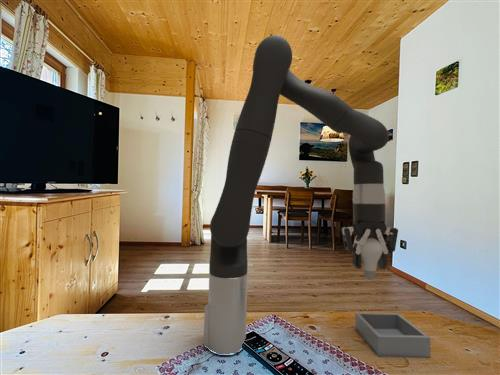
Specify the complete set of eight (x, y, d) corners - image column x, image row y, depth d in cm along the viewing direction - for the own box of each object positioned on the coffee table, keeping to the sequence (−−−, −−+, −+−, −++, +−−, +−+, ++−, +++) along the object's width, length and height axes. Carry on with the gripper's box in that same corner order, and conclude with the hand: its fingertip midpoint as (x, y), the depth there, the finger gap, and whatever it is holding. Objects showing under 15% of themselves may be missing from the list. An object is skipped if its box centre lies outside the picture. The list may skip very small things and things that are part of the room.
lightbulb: (377, 276, 67) (376, 234, 67) (387, 284, 60) (386, 238, 61) (353, 275, 67) (352, 234, 68) (361, 283, 61) (360, 238, 61)
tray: (378, 356, 57) (378, 336, 57) (355, 328, 69) (355, 312, 69) (430, 357, 57) (430, 337, 58) (398, 329, 69) (398, 313, 70)
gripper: (347, 202, 61) (348, 272, 60) (405, 202, 61) (407, 272, 60) (335, 201, 68) (336, 264, 67) (387, 201, 68) (389, 264, 68)
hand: (369, 267), depth 64 cm, fingers closed on lightbulb, 5 cm apart
